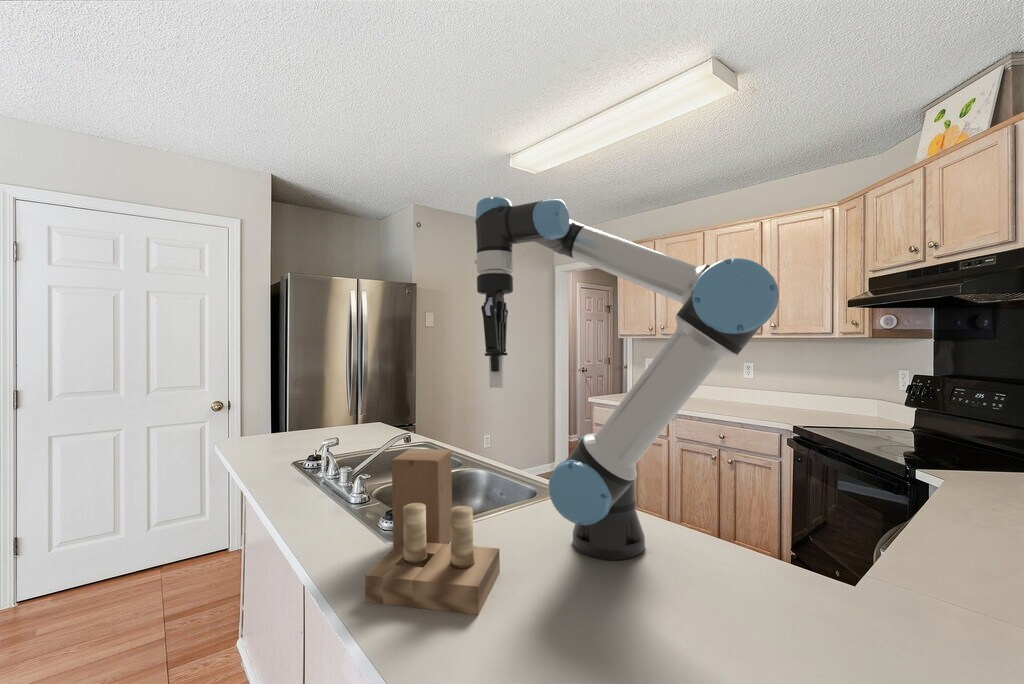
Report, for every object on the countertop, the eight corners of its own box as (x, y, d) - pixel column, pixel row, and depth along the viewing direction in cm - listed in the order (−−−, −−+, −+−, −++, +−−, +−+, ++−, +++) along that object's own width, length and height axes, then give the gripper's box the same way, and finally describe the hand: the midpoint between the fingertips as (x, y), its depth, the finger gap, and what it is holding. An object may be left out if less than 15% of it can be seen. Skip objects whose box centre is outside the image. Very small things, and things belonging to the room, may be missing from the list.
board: (499, 572, 87) (498, 498, 87) (478, 614, 73) (476, 527, 73) (402, 563, 91) (401, 492, 91) (365, 601, 77) (364, 519, 78)
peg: (431, 579, 85) (429, 503, 85) (421, 591, 80) (420, 511, 81) (410, 577, 85) (408, 502, 86) (399, 588, 81) (398, 510, 82)
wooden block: (438, 558, 93) (436, 460, 93) (392, 555, 94) (390, 459, 95) (453, 538, 103) (451, 449, 103) (411, 535, 104) (409, 448, 104)
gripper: (486, 279, 103) (487, 384, 102) (467, 270, 90) (470, 390, 90) (518, 277, 101) (520, 384, 101) (505, 268, 88) (507, 390, 88)
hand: (496, 387), depth 95 cm, fingers closed
